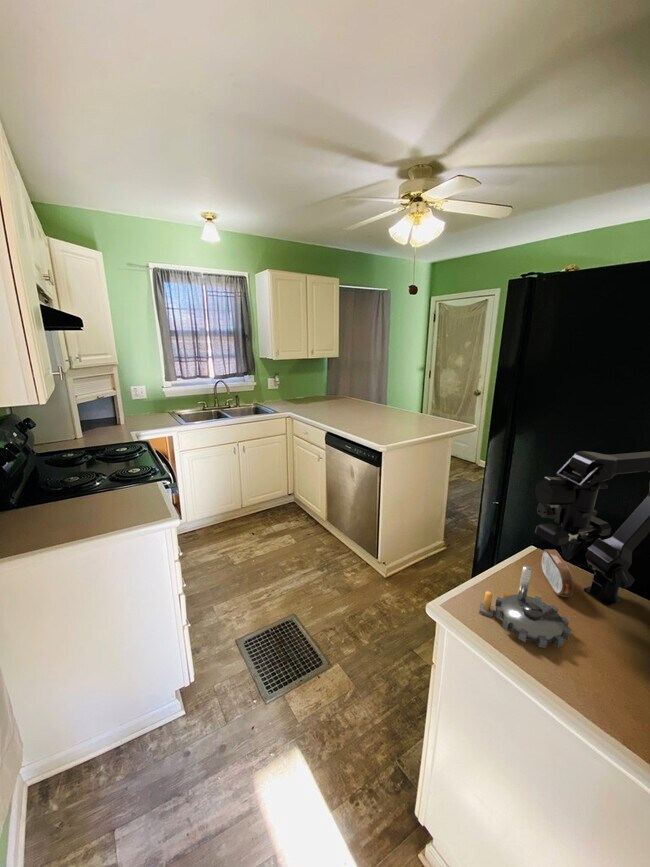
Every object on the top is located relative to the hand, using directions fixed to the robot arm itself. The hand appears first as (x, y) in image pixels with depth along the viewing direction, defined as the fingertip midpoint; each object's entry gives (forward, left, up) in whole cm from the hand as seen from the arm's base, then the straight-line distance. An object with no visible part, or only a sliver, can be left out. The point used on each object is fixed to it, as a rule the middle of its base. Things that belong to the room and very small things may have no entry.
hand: (566, 558), depth 91 cm
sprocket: (+15, +5, -11) cm, 19 cm away
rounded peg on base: (+22, -2, -12) cm, 25 cm away
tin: (-4, -5, -12) cm, 14 cm away
